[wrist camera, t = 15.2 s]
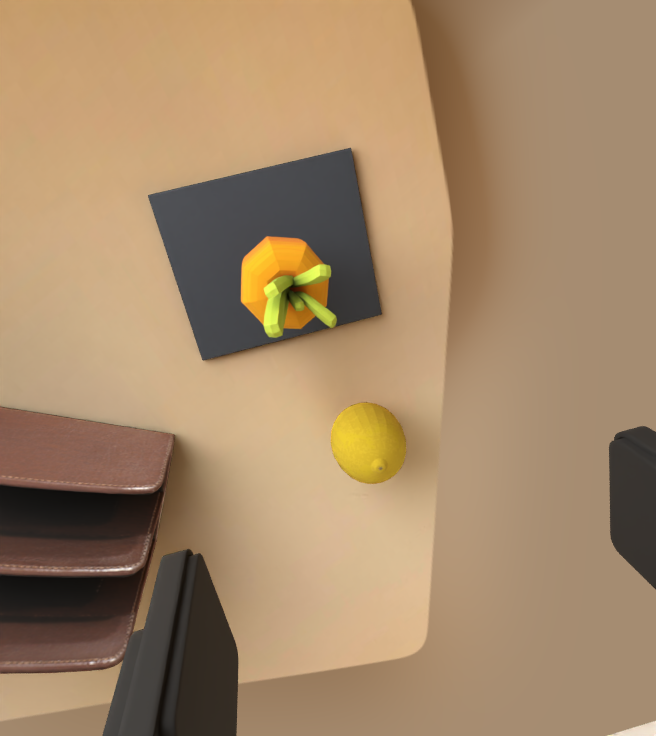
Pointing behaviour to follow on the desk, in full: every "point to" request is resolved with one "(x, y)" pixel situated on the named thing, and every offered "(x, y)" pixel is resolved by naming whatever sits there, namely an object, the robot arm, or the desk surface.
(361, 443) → the lemon
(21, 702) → the desk surface
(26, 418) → the letter holder
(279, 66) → the desk surface
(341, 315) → the mat
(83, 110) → the desk surface
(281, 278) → the carrot
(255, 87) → the desk surface
